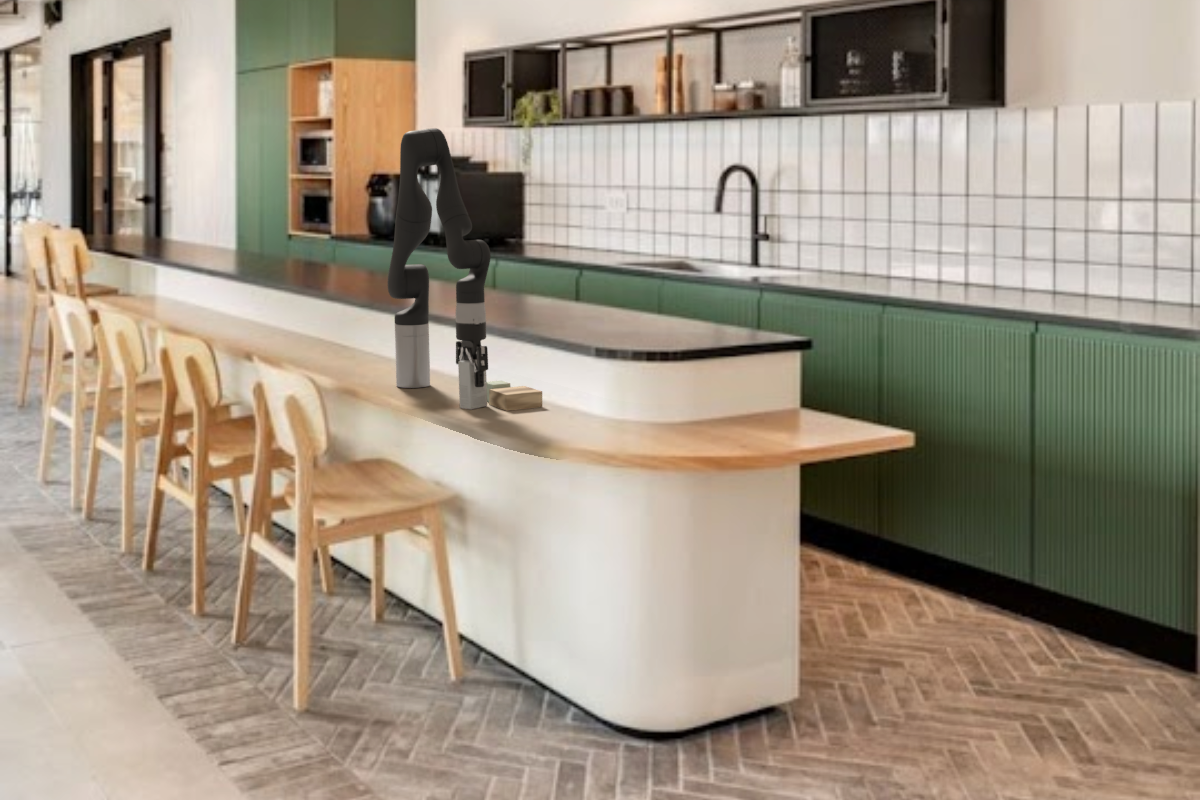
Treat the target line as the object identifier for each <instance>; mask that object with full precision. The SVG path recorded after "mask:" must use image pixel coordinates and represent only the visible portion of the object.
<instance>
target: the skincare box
mask: <svg viewBox="0 0 1200 800" xmlns="http://www.w3.org/2000/svg"><path fill="white" fill-rule="evenodd" d="M457 366H458V389H459V408H460V409H466V410H476V409H479V408H483V407H488V402H487V382H488V381H487V370H485V372H484V386H483V387H475V374H474V372H475V371H474V367H473V365H471V364H470V361H469V360H463V361H458V364H457Z"/></svg>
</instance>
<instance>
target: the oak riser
mask: <svg viewBox="0 0 1200 800" xmlns="http://www.w3.org/2000/svg"><path fill="white" fill-rule="evenodd" d="M488 403H489V406H491V407H495V408H498V409H501V410H504V411H507V412H508V411H518V410H526V409H527V410H528V409H537V408H543V391H541V390H539V389H536V388H532V387H530V386H529V387H528V386H527V385H518V386H510V387H508V388H497V389H489V402H488Z"/></svg>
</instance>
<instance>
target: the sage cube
mask: <svg viewBox="0 0 1200 800" xmlns="http://www.w3.org/2000/svg"><path fill="white" fill-rule="evenodd" d="M508 387H511V383H510V382H508V381H504V380H494V381H487V403H489V389H497V388H508Z"/></svg>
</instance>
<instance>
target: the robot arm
mask: <svg viewBox="0 0 1200 800" xmlns="http://www.w3.org/2000/svg"><path fill="white" fill-rule="evenodd" d="M399 149H400V153H399V154H400V157H399V158H400V160H399V167H400V168H399V169H400V170H399V171H400V172H399V175H400V176H399V188H398V198H397V206H396V210H395V211H396V212H395V213H396V215H395V223H394V224H395V226H394V235H393V237H394V239H393V246H392V253H391V259H390V263H389V267H388V273H387V274H388V275H387V291H388V294H389V295H390V297H391V298H393V299H395V300H404V299H405V300H406V299H407V300H408V299H409V300H410V299H412V300H413V299H414V302H413V303H412V304H411V305H410V306H409V307H406V308H405V309H402V310H400V311H398V312H396V313H395V314H394V337H395V338H394V339H395V342H394V343H395V344H394V345H395V379H396V380H395V381H396V382H395V383H396V384H395V385H396V387H398V388H406V389H411V388H412V389H414V388H415V389H417V388H419V389H420V388H425V387H430V386H431V362H430V361H431V360H430V359H431V358H430V326H429V324H430V323H429V321H430V320H429V315H430V314H429V313H430V312H429V311H430V310H429V307H430V306H429V299H430V273H429V269H428V268H427V267H426V265H425V264H421V263H419V264H418V263H417V264H407V262H408V260H409V258H410V256H411V255H412V254H413V252H414V251H416V249H417V248H418V247H419V246H420V244H421V243H422V242H423V241H424V240H425V239H426V237H427V236H428V235H429V232H430V231H431V223H432V216H433V205H432V203H431V201H430V199H429V197H428V196H427V194H426V193H425V191H424V190H423V188H422V187H421V184H420V182H419V179H418V172H419V170H420V168H423V167H428V166H429V167H430V166H436V167H437V169H438V172H439V175H440V178H439V179H440V181H439V185H438V186H439V187H438V191H437V193H436V194H437V195H436V199H435V200H436V201H435V202H436V203H435V207H436V212H437V215H438V218H439V221H440V223H441V226H442V228H443V230H444V234H445V235H444V236H445V243H446V252H447V253H446V254H447V259H448V261H449V263H450V264H451V265H452V267H454V269H457V270H469V272H468V274H467V276H465V277H463V278H460V279H459V280H457V282H456V284H455V295H456V296H455V300H456V301H455V302H456V305H455V334H456V335H455V338H456V340H458V341H455V364H456V365H458V361H463V360H469V361H470V364H471V365H473V367H474V371H475V372H474V374H475V387H483V386H484V372H485V370H486V371H488V370H489V354H488V346H487V345H482V341H483V340H486V338H487V313H486V312H487V311H486V310H487V309H486V305H485V285H486V281H487V276H488V272H489V267H490V263H491V250H490V247H489V244H487V242H486V241H485V240H482V239H470V240H468V239H464V237H465V236H467V235H468V234H470V232H471V231H472V229H473V224H472V220H471V218H470V215H469V212H468V211H467V208H466V206H465V203H464V201H463V199H462V195H461V192H460V187H459V185H458V184H459V183H458V179H457V175H456V170H455V167H454V162H453V159H452V156H451V155H452V154H451V151H450V148H449V145H448V141H447V138H446V136H445V134H444V133H443V132H442V130H441V129H439V128H436V127H434V128H425V129H416V130H410V131H409V130H408V131H407V132H404V134H403V136H402V138H401V143H400V148H399Z"/></svg>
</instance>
